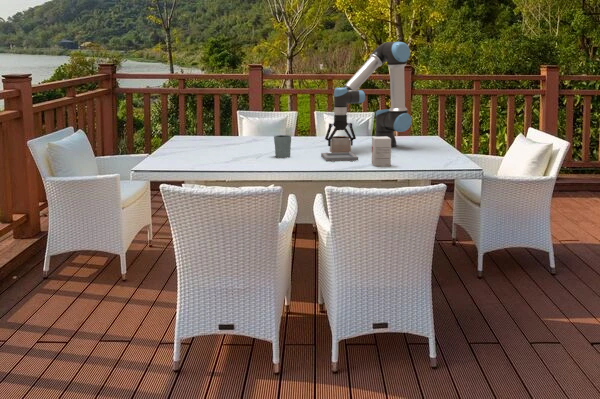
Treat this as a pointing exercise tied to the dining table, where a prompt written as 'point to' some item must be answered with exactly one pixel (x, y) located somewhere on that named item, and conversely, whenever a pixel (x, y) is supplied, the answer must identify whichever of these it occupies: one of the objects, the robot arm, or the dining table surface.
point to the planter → (340, 144)
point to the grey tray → (339, 156)
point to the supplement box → (381, 151)
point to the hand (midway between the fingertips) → (340, 151)
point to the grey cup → (282, 146)
